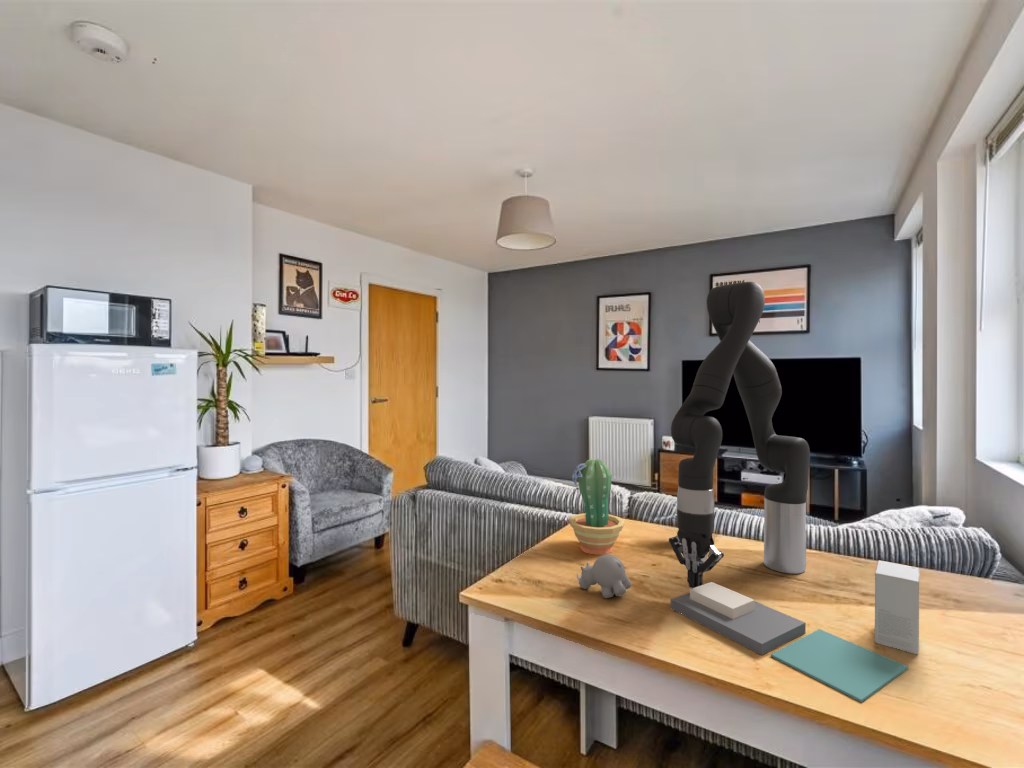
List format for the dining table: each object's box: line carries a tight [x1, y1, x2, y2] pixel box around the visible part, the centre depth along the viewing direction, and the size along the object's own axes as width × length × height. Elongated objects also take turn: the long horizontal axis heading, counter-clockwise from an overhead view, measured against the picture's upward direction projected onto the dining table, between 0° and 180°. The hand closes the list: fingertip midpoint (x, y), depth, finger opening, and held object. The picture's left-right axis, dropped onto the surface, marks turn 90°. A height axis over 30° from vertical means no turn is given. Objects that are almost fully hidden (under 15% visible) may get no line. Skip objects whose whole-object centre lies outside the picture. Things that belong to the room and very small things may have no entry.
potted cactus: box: [568, 458, 625, 556], centre depth 138 cm, size 15×16×25 cm
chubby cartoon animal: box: [576, 553, 632, 599], centre depth 111 cm, size 7×12×8 cm, turn 54°
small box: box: [874, 559, 921, 655], centre depth 91 cm, size 8×6×13 cm
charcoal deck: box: [670, 591, 807, 656], centre depth 98 cm, size 14×20×2 cm
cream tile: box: [689, 581, 756, 619], centre depth 100 cm, size 7×10×2 cm
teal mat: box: [770, 628, 909, 703], centre depth 84 cm, size 16×14×1 cm
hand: (694, 587), depth 106 cm, fingers closed
